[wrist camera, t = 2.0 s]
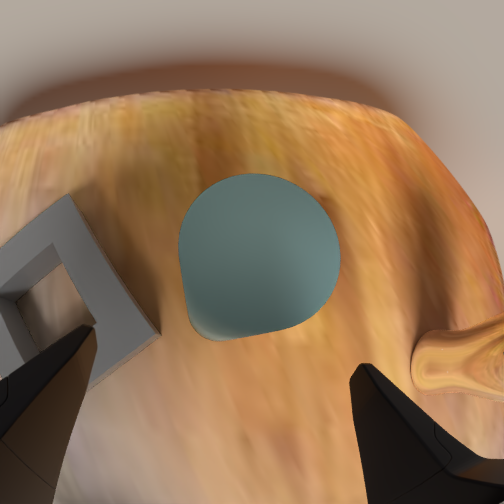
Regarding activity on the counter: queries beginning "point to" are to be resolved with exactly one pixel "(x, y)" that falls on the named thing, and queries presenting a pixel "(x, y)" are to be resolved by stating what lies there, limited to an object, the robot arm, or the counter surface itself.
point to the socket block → (85, 280)
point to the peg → (255, 257)
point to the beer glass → (462, 361)
